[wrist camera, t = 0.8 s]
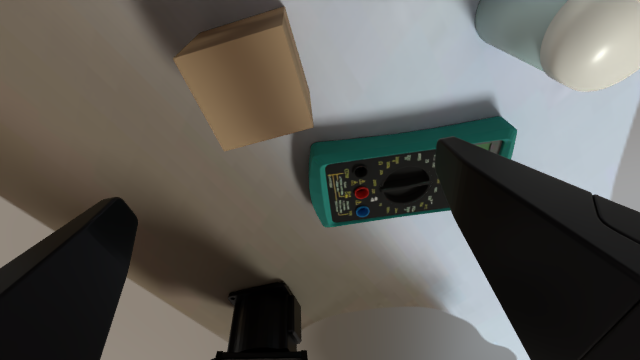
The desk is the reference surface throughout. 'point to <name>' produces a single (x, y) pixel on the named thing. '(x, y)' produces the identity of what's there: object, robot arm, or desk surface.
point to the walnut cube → (248, 79)
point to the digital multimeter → (391, 171)
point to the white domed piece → (567, 37)
